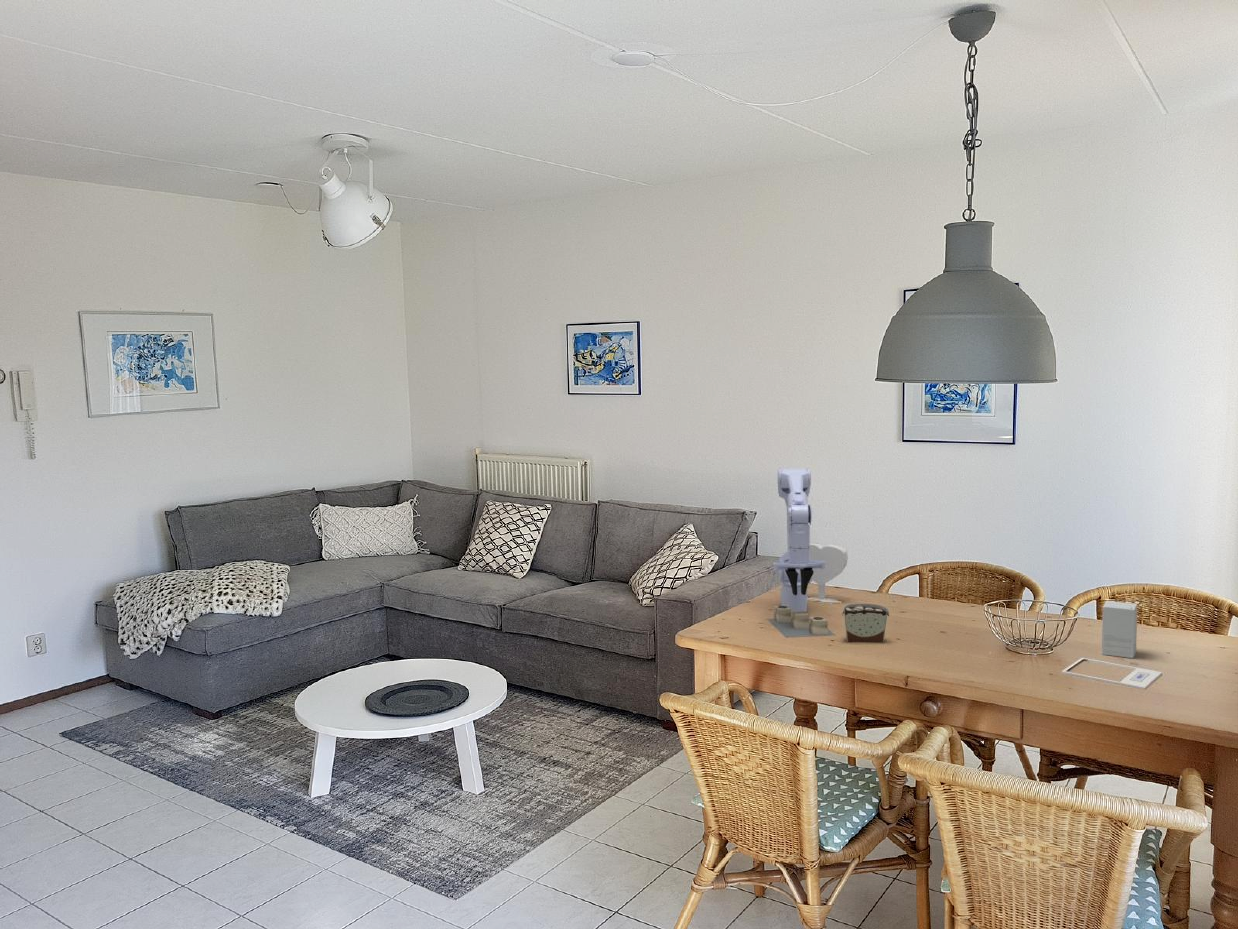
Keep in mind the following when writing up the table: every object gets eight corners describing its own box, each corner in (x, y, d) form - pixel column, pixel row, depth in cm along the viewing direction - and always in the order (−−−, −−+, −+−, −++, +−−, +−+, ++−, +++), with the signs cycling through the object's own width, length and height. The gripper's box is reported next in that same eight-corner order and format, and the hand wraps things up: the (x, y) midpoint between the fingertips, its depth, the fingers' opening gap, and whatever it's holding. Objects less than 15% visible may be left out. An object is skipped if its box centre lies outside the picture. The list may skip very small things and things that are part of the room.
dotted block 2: (808, 631, 265) (809, 616, 264) (822, 630, 265) (822, 616, 265) (813, 635, 261) (813, 620, 260) (827, 634, 261) (827, 619, 261)
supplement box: (1136, 651, 244) (1138, 603, 243) (1133, 659, 238) (1135, 609, 237) (1104, 647, 248) (1106, 599, 247) (1100, 654, 242) (1102, 605, 241)
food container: (885, 639, 259) (885, 603, 258) (889, 645, 253) (889, 608, 252) (838, 638, 260) (839, 602, 259) (841, 645, 254) (842, 608, 253)
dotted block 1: (774, 619, 278) (774, 605, 278) (787, 618, 278) (787, 604, 278) (777, 622, 274) (777, 608, 274) (791, 622, 274) (791, 608, 274)
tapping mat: (766, 621, 279) (766, 618, 279) (812, 619, 280) (812, 616, 280) (786, 640, 259) (786, 637, 259) (835, 638, 261) (835, 635, 261)
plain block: (791, 625, 271) (791, 611, 271) (804, 624, 272) (804, 610, 271) (795, 628, 267) (795, 615, 267) (809, 628, 268) (809, 614, 268)
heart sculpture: (848, 601, 302) (848, 545, 300) (843, 604, 297) (844, 547, 296) (800, 596, 309) (800, 541, 307) (795, 599, 305) (795, 544, 303)
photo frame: (1144, 686, 215) (1061, 670, 228) (1144, 691, 216) (1061, 675, 228) (1162, 671, 226) (1081, 656, 238) (1161, 676, 226) (1081, 661, 238)
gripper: (778, 550, 264) (778, 598, 265) (828, 548, 265) (828, 596, 267) (771, 546, 271) (771, 592, 272) (820, 544, 272) (820, 590, 274)
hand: (799, 594), depth 270 cm, fingers closed
